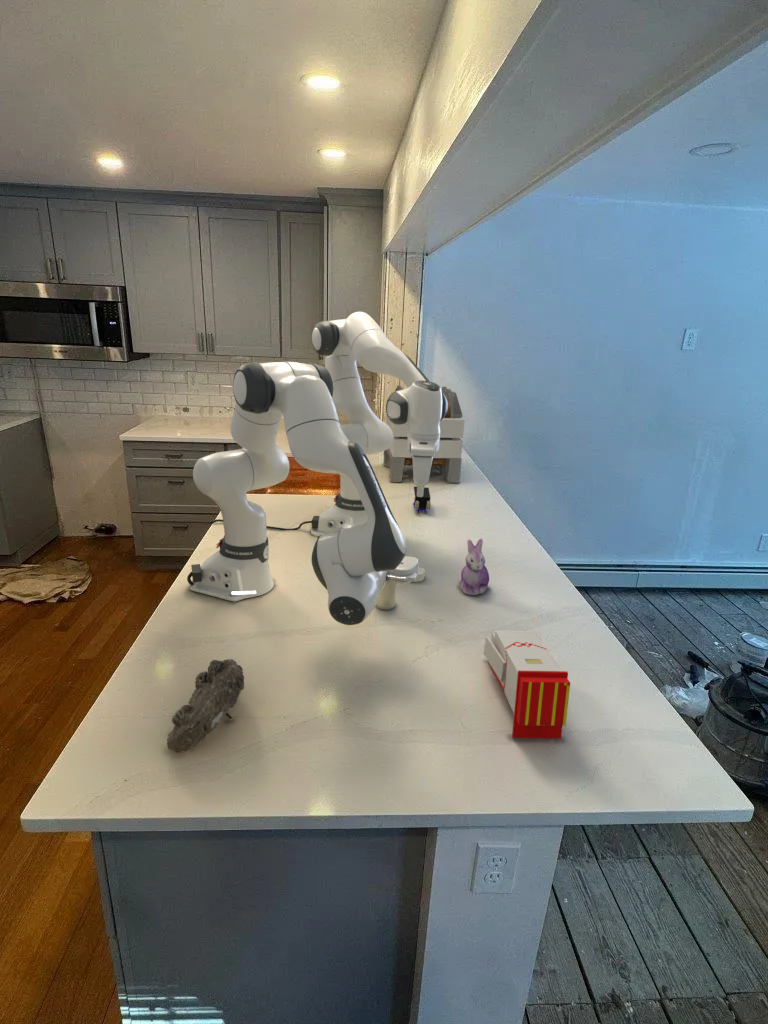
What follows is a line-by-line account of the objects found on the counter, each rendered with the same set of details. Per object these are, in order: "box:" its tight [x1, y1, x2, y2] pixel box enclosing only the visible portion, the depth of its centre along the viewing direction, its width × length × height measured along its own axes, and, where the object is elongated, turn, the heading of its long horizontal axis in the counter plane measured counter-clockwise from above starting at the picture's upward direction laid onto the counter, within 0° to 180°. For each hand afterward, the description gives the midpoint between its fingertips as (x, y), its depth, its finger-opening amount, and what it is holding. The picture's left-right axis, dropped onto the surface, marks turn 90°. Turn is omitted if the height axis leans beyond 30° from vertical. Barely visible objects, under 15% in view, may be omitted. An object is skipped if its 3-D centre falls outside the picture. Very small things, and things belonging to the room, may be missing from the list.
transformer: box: [383, 384, 465, 484], centre depth 268 cm, size 34×33×41 cm
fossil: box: [166, 658, 245, 754], centre depth 106 cm, size 22×10×15 cm
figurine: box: [459, 538, 490, 596], centre depth 160 cm, size 9×10×15 cm
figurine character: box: [412, 486, 431, 515], centre depth 224 cm, size 7×8×15 cm
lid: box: [410, 566, 425, 583], centre depth 168 cm, size 6×6×2 cm
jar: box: [375, 582, 397, 611], centre depth 149 cm, size 5×5×16 cm
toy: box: [483, 629, 571, 739], centre depth 117 cm, size 12×13×30 cm
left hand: (379, 551), depth 134 cm, fingers open, 8 cm apart
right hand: (420, 491), depth 159 cm, fingers open, 8 cm apart
